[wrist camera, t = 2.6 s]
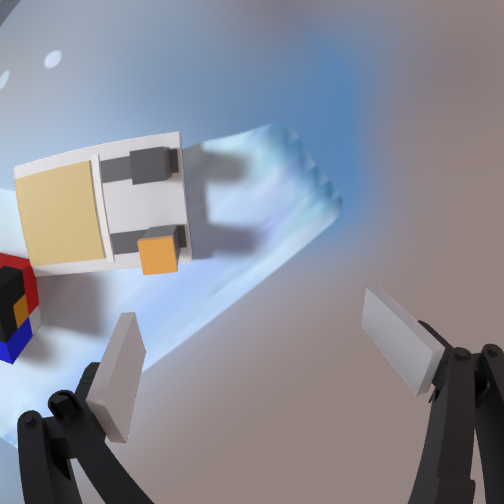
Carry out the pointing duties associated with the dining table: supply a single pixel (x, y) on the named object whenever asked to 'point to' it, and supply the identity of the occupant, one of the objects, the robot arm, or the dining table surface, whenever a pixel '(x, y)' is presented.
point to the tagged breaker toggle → (159, 250)
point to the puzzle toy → (17, 306)
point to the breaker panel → (98, 207)
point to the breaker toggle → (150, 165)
